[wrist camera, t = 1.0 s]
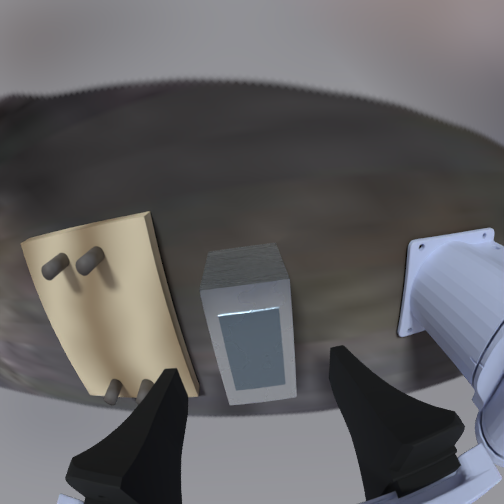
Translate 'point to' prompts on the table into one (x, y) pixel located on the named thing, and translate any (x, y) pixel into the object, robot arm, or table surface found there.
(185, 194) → the table surface
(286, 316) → the block
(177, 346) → the tan flat board
